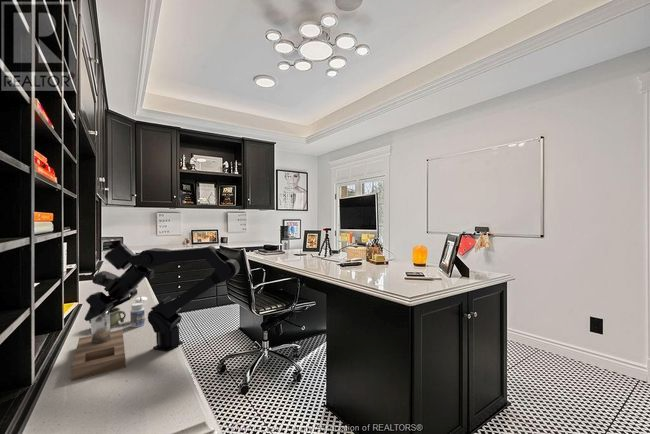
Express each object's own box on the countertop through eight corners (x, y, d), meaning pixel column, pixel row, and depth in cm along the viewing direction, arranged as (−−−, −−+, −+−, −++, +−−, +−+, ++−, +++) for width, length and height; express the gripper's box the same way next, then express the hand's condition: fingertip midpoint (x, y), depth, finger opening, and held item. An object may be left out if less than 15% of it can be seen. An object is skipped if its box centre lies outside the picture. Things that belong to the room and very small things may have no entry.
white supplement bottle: (135, 322, 126) (134, 297, 126) (136, 318, 131) (135, 294, 131) (147, 320, 129) (147, 295, 128) (148, 316, 133) (147, 293, 133)
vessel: (127, 320, 129) (126, 305, 129) (125, 326, 121) (124, 310, 121) (91, 325, 123) (90, 310, 123) (86, 333, 116) (86, 316, 116)
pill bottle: (138, 327, 120) (137, 306, 120) (127, 327, 121) (127, 305, 121) (147, 323, 124) (146, 302, 124) (137, 322, 125) (136, 302, 125)
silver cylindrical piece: (110, 341, 100) (109, 307, 100) (91, 345, 97) (90, 310, 97) (110, 336, 104) (109, 303, 104) (91, 340, 101) (90, 306, 101)
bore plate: (125, 366, 89) (125, 356, 88) (71, 380, 82) (71, 369, 82) (122, 338, 110) (122, 329, 110) (79, 347, 103) (79, 338, 103)
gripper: (127, 258, 110) (95, 291, 109) (91, 267, 91) (53, 307, 90) (151, 279, 110) (119, 312, 110) (120, 293, 92) (82, 332, 91)
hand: (95, 315), depth 100 cm, fingers open, 9 cm apart
